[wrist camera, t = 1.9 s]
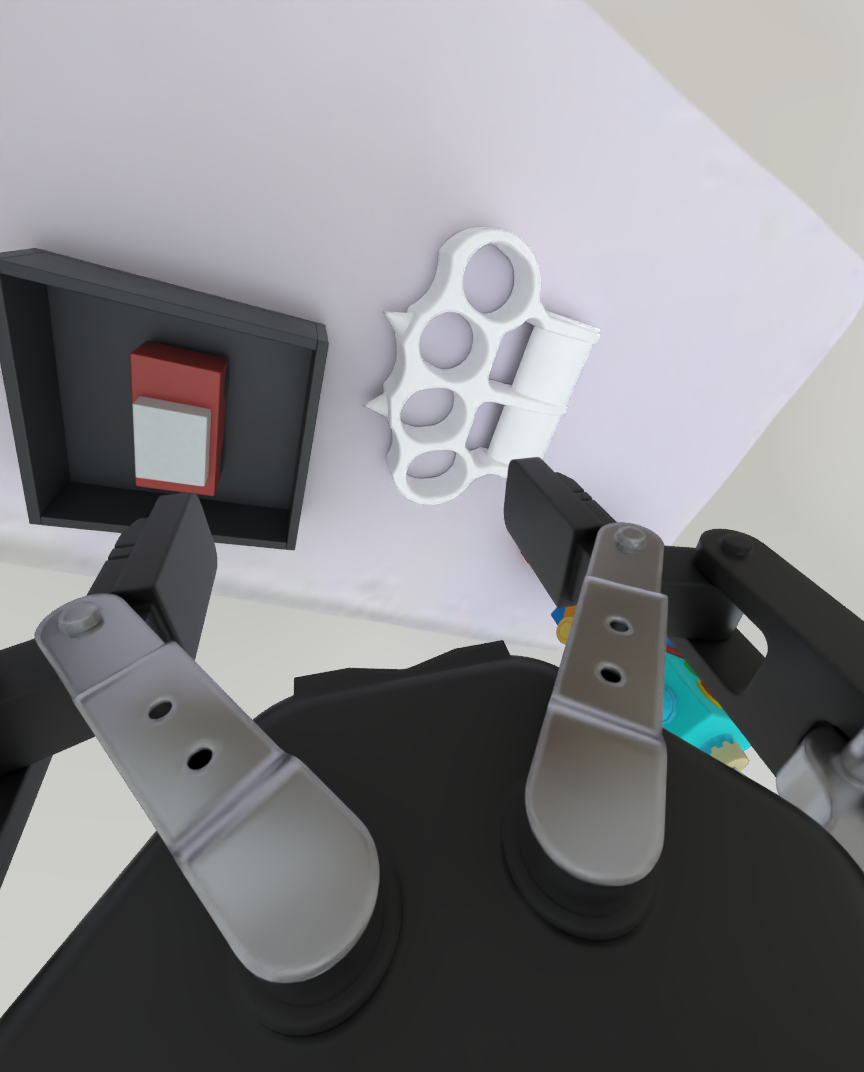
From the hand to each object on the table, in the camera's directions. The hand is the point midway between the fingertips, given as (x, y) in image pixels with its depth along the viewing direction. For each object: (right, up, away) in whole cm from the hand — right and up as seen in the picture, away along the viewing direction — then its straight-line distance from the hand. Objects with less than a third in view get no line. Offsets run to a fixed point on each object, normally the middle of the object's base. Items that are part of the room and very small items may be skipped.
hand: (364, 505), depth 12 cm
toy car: (-14, +7, +18) cm, 24 cm away
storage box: (-14, +8, +18) cm, 24 cm away
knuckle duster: (+4, +11, +21) cm, 24 cm away
